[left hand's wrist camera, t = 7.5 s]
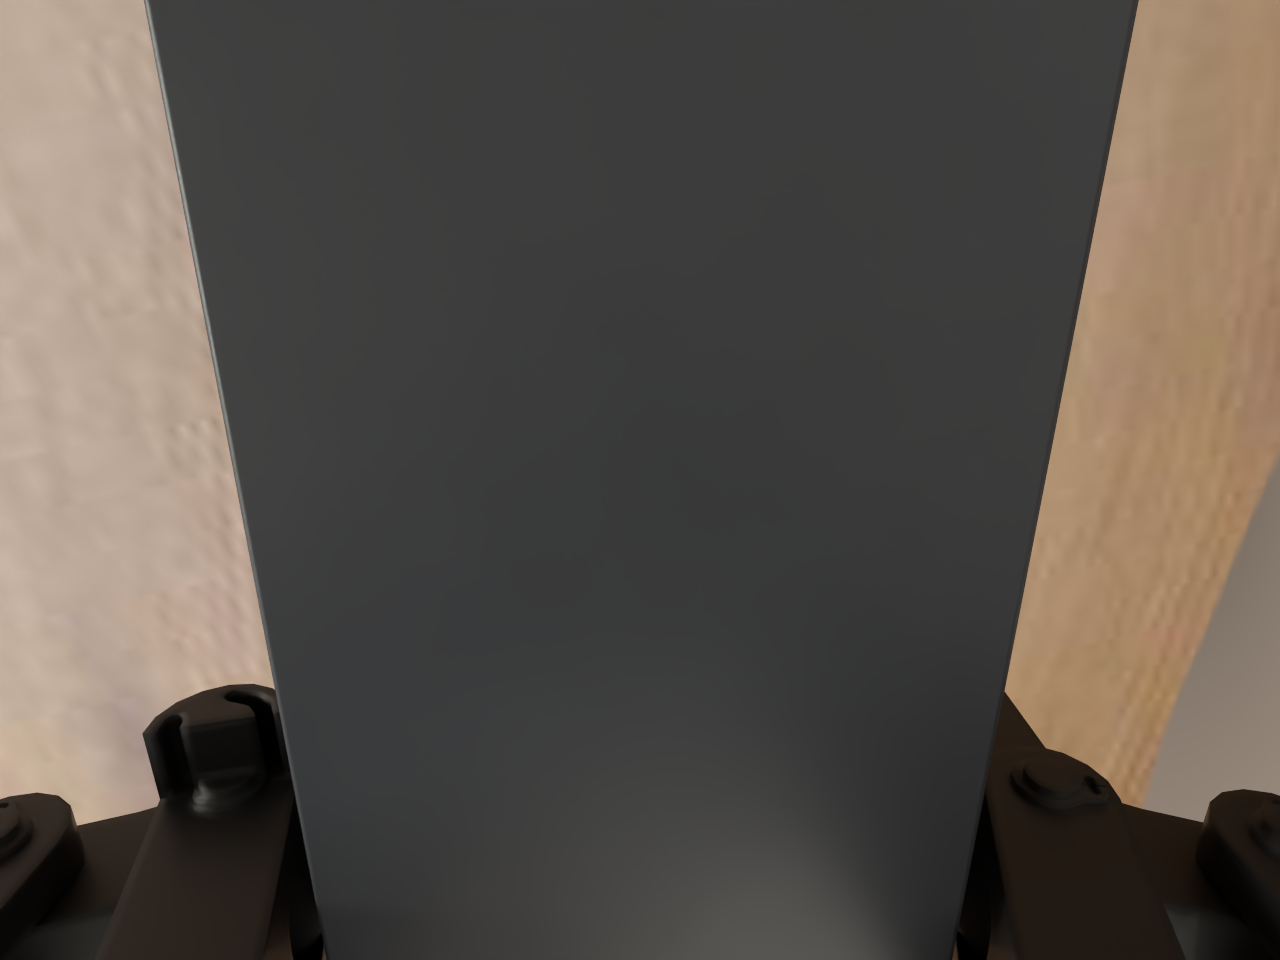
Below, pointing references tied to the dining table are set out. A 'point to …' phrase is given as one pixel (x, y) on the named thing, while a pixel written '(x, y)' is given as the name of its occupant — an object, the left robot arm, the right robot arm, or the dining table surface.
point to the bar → (640, 443)
